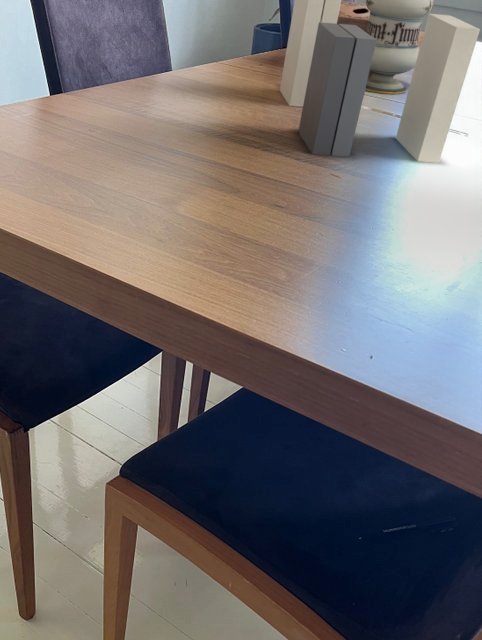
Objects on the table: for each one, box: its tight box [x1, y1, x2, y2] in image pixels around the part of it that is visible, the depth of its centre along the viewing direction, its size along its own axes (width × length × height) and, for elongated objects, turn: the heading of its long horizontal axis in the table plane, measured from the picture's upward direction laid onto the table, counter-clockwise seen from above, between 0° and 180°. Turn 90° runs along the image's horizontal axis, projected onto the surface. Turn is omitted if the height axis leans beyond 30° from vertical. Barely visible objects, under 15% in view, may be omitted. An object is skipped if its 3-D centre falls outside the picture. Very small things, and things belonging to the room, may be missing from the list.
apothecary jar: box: [365, 0, 435, 95], centre depth 134 cm, size 12×12×18 cm
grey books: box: [297, 22, 377, 157], centre depth 100 cm, size 5×11×15 cm, turn 0°
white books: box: [279, 0, 342, 108], centre depth 123 cm, size 5×11×17 cm, turn 0°
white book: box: [395, 13, 481, 164], centre depth 100 cm, size 3×11×17 cm, turn 1°
